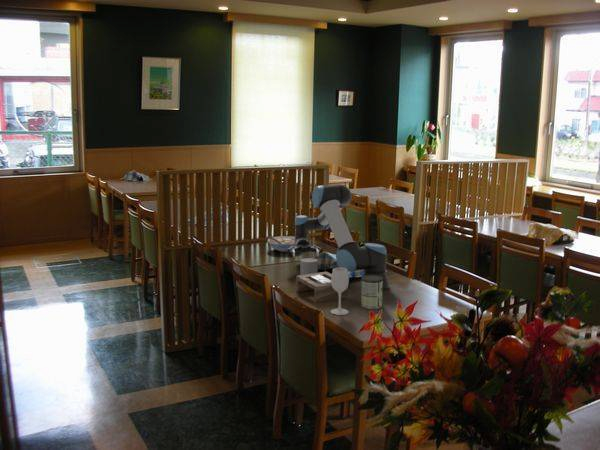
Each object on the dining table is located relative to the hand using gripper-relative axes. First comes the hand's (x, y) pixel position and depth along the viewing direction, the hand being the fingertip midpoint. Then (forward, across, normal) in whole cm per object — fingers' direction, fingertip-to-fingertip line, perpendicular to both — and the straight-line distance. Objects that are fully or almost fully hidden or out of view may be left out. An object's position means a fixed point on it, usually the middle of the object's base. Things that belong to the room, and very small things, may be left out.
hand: (306, 254), depth 355 cm
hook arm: (+33, -5, -6) cm, 34 cm away
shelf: (+33, -5, -12) cm, 36 cm away
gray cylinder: (+11, 0, -13) cm, 17 cm away
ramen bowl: (-61, +8, -14) cm, 63 cm away
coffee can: (+54, -27, -12) cm, 61 cm away
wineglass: (+62, -10, -12) cm, 64 cm away
